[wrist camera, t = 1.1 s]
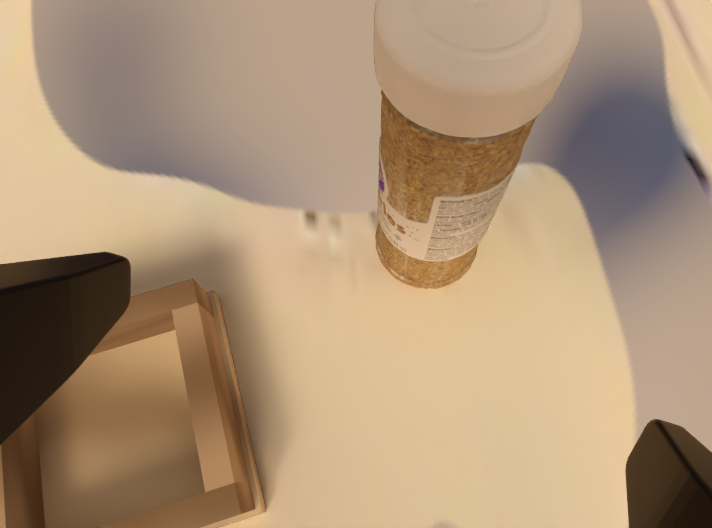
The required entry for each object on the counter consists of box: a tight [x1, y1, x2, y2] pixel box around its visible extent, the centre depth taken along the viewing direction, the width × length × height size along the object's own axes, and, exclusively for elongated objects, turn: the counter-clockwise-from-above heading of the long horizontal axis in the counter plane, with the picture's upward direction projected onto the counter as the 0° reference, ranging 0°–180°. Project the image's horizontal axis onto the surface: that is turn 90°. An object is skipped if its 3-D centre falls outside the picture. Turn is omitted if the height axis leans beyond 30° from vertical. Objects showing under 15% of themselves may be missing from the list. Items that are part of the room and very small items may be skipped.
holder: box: [0, 279, 266, 528], centre depth 20 cm, size 9×9×3 cm
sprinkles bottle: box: [374, 0, 583, 289], centre depth 18 cm, size 5×5×13 cm
